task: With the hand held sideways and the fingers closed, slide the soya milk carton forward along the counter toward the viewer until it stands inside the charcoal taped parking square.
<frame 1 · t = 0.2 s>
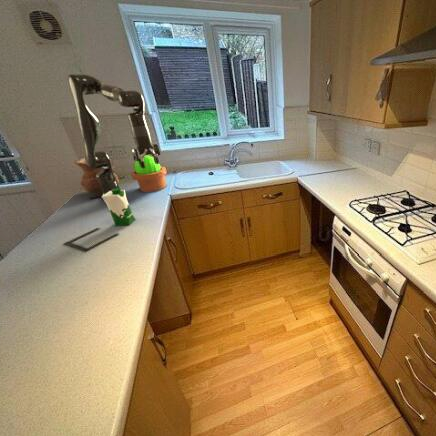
hand: (150, 165, 130), 29 cm above the worktop, tool pointing down, fingers open, 8 cm apart
jug: (105, 192, 176), on the worktop
tape square: (93, 238, 120), on the worktop
potted cactus: (154, 188, 181), on the worktop
soya milk: (125, 223, 134), on the worktop
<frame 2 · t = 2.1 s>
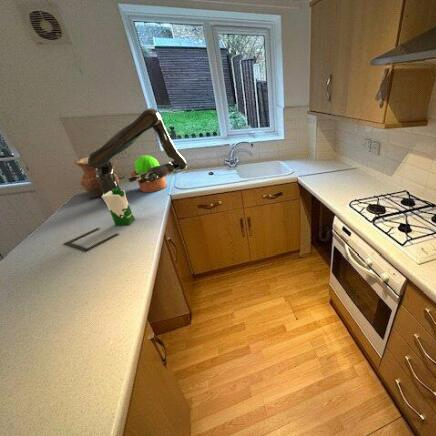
hand: (134, 181, 135), 20 cm above the worktop, tool horizontal, fingers open, 8 cm apart
nothing on the worktop moved.
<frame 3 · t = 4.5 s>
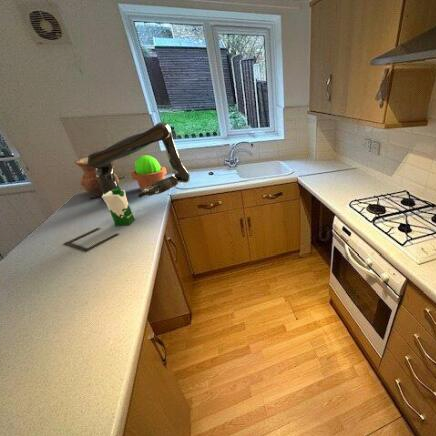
hand: (138, 196, 138), 11 cm above the worktop, tool horizontal, fingers closed
nothing on the worktop moved.
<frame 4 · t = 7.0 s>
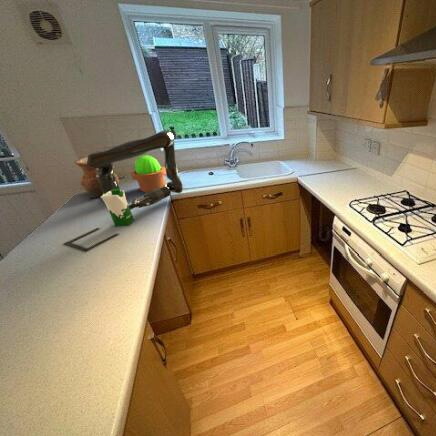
hand: (128, 208, 134), 7 cm above the worktop, tool horizontal, fingers closed
soya milk: (125, 223, 134), on the worktop, touching gripper
everything else where it was.
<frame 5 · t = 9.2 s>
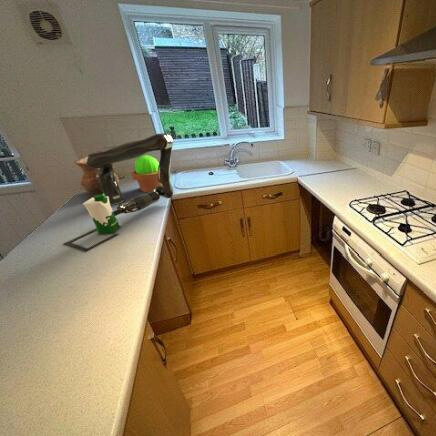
hand: (112, 214, 127), 8 cm above the worktop, tool horizontal, fingers closed
soya milk: (110, 230, 127), on the worktop, touching gripper
everything else where it was.
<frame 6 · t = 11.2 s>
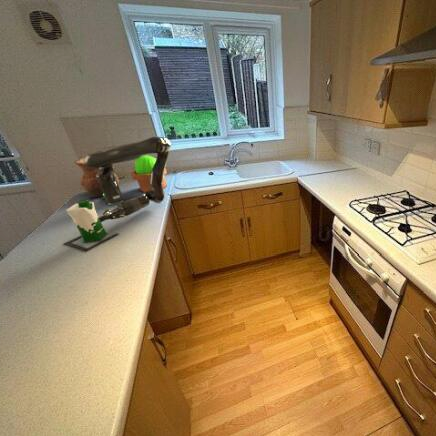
hand: (98, 220, 121), 8 cm above the worktop, tool horizontal, fingers closed
soya milk: (95, 238, 121), on the worktop, touching gripper
everything else where it was.
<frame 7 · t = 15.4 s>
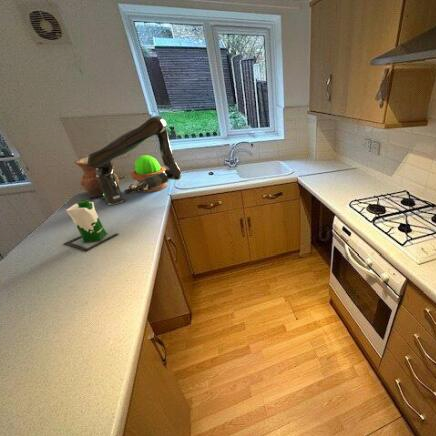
hand: (125, 192, 133), 15 cm above the worktop, tool horizontal, fingers closed
soya milk: (95, 238, 121), on the worktop
everything else where it was.
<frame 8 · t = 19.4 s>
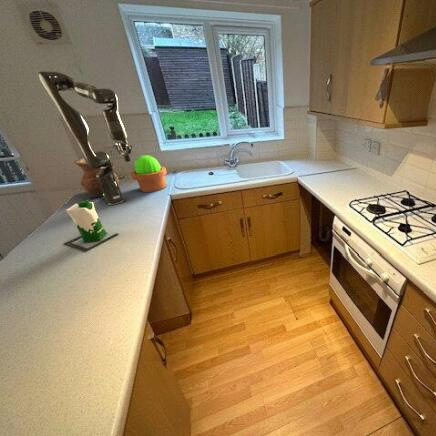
hand: (128, 161, 138), 29 cm above the worktop, tool pointing down, fingers closed
nothing on the worktop moved.
at the end: soya milk inside the target area (0.9 cm from its centre), on the worktop; soya milk tilted 0°; soya milk moved 16.4 cm from its start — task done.
